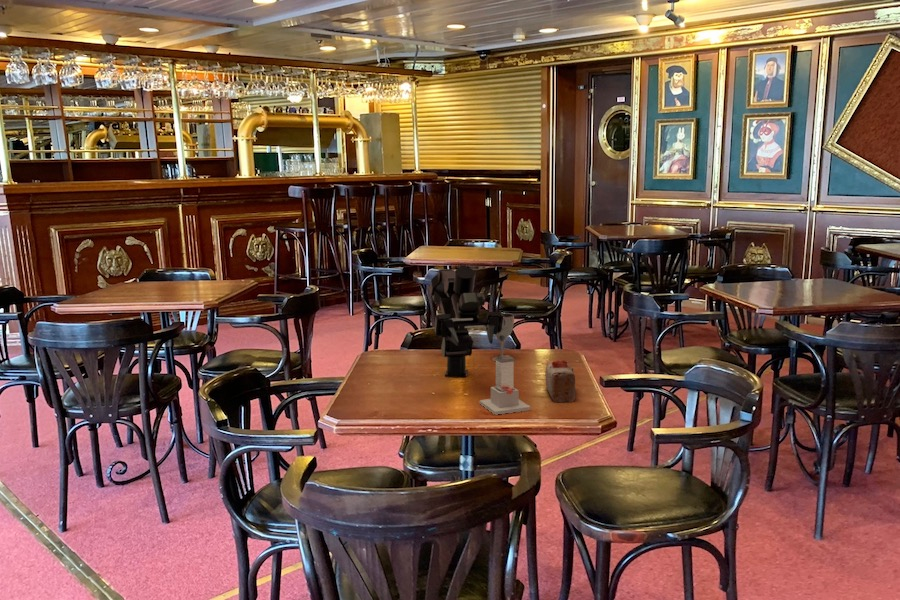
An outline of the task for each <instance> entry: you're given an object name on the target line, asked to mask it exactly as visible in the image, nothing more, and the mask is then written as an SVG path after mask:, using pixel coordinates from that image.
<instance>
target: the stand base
mask: <svg viewBox="0 0 900 600" xmlns="http://www.w3.org/2000/svg"><path fill="white" fill-rule="evenodd" d="M519 394H520V392H519V389H517V388H516V387H514V390H513V388H509V389H508V390H507V391H505V392H500V391H498V390H497V389H496V386H490V398H487V399H481V400H479V403H478V404H479V405H480V404H481V405H480V406H482V407H483V406H484V407H485V410H487V409H488V410H489V413H491V412H492V413H491V414H493V415H494V414H495V415H494V416H499V415H498V414H502V415H506V414H505V413H509V414H514V413H513V412H516V413H520V412H521V411H522V412H527V411H531V406H530V405H529V404H527V403H525V402H524V401H522V400H521V399H520V397H519V396H520V395H519ZM484 407H483V408H484ZM488 410H487V411H488Z"/></svg>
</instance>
